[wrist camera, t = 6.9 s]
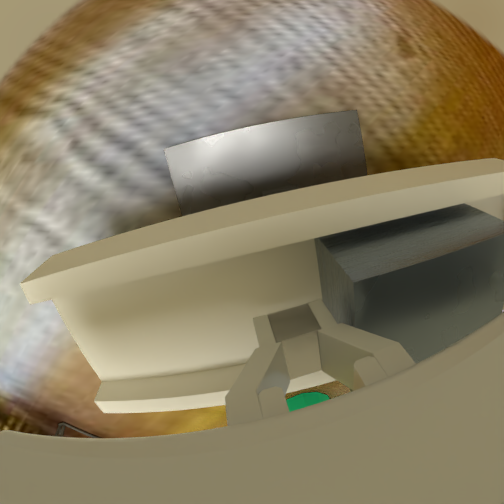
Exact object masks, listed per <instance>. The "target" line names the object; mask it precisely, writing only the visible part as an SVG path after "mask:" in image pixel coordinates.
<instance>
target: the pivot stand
mask: <svg viewBox="0 0 504 504" xmlns="http://www.w3.org/2000/svg"><path fill="white" fill-rule="evenodd" d="M164 152H165V156H166V160H167V163H168V167H169V171H170V174H171V178H172V182H173V185H174V189H175V192H176V196H177V199H178V203H179V206H180V209H181V213H182V216H186V215H190V214H194V213H197V212H201V211H205V210H209V209H213V208H217V207H221V206H225V205H229V204H233V203H238V202H242V201H246V200H250V199H255V198H259V197H263V196H268V195H272V194H277V193H281V192H286V191H291V190H295V189H300V188H305V187H310V186H315V185H320V184H325V183H330V182H335V181H340V180H346V179H351V178H356V177H362V176H367V168H366V161H365V154H364V147H363V141H362V135H361V129H360V124H359V119H358V113H357V110H352V111H342V112H334V113H326V114H318V115H311V116H304V117H298V118H292V119H286V120H280V121H275V122H270V123H264V124H259V125H255V126H250V127H245V128H241V129H236V130H232V131H228V132H223V133H219V134H215V135H211V136H208V137H204V138H200V139H196V140H193V141H189V142H186V143H182V144H179V145H175V146H172V147H169V148H165V149H164Z"/></svg>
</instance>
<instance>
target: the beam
mask: <svg viewBox="0 0 504 504" xmlns="http://www.w3.org/2000/svg"><path fill="white" fill-rule="evenodd" d="M462 203H465V204H467V205H470V206H472V207H474V208H477V209H479V210H481V211H483V212H486V213H488V214H490V215H492V216H494V217H496V218H499V219H501V220H503V221H504V160H501V159H497V158H488V159H479V160H470V161H462V162H453V163H446V164H438V165H431V166H424V167H417V168H410V169H404V170H398V171H391V172H385V173H379V174H373V175H368V176H362V177H356V178H351V179H346V180H340V181H335V182H330V183H325V184H320V185H315V186H310V187H305V188H300V189H295V190H291V191H286V192H281V193H277V194H272V195H268V196H263V197H259V198H255V199H250V200H246V201H242V202H238V203H233V204H229V205H225V206H221V207H217V208H213V209H209V210H205V211H201V212H197V213H194V214H190V215H186V216H182V217H178V218H175V219H171V220H167V221H164V222H160V223H156V224H153V225H149V226H146V227H142V228H139V229H135V230H132V231H129V232H125V233H122V234H118V235H115V236H112V237H108V238H105V239H102V240H99V241H96V242H92V243H89V244H86V245H83V246H80V247H77V248H74V249H71V250H68V251H65V252H62V253H59V254H56V255H53V256H51V257H50V258H49V259H48V260H47V261H45V262H44V263H43V264H42V265H41V266H40V267H38V268H37V269H36V270H35V271H34V272H33V273H31V274H30V275H29V276H28V277H27V278H26V279H25V280H24V281H23V282H21V283H20V285H21V287H22V289H23V291H24V293H25V295H26V297H27V299H28V301H29V303H30V304H34V303H39V302H43V301H47V300H52V301H53V303H54V304H55V306H56V308H57V310H58V312H59V314H60V316H61V318H62V319H63V321H64V323H65V325H66V326H67V328H68V330H69V332H70V333H71V335H72V337H73V338H74V340H75V342H76V343H77V345H78V346H79V348H80V350H81V351H82V353H83V354H84V356H85V357H86V359H87V361H88V362H89V364H90V365H91V367H92V368H93V369H94V371H95V372H96V374H97V375H98V377H99V378H100V379H101V381H102V383H101V385H100V388H99V390H98V393H97V395H96V398H95V400H94V402H95V403H96V404H97V405H98V407H99V408H100V409H101V410H102V411H103V413H142V412H161V411H174V410H186V409H195V408H204V407H212V406H219V405H226V403H225V396H226V395H227V393H228V392H229V390H230V389H231V387H232V385H233V384H234V382H235V381H236V379H237V378H238V376H239V374H240V373H241V371H242V370H243V368H244V366H245V365H246V363H247V361H248V360H249V358H250V356H251V355H252V353H253V352H254V350H255V349H256V348H259V344H258V340H257V336H256V332H255V327H254V323H253V318H254V317H258V316H262V315H267V314H269V313H273V312H277V311H281V310H285V309H289V308H293V307H297V306H300V305H303V304H306V303H308V302H311V301H314V300H317V299H322V292H321V284H320V276H319V269H318V261H317V254H316V247H315V241H314V238H318V237H322V236H326V235H330V234H335V233H339V232H343V231H348V230H352V229H356V228H360V227H365V226H369V225H373V224H377V223H382V222H386V221H390V220H394V219H399V218H403V217H407V216H411V215H416V214H420V213H424V212H428V211H433V210H437V209H441V208H445V207H450V206H454V205H458V204H462ZM503 309H504V305H503ZM503 309H502V310H503ZM333 381H336V379H334V378H332V377H331V376H329V375H328V374H326V373H324V372H323V371H322V370H321V371H317V372H314V373H311V374H307V375H304V376H301V377H298V378H295V379H291V380H290V384H289V386H288V389H287V392H286V393H290V392H294V391H298V390H302V389H306V388H310V387H314V386H318V385H322V384H325V383H329V382H333Z"/></svg>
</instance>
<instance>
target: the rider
mask: <svg viewBox="0 0 504 504" xmlns="http://www.w3.org/2000/svg"><path fill="white" fill-rule="evenodd" d="M314 241H315V247H316V254H317V261H318V269H319V276H320V284H321V292H322V301H323V302H324V304H325V305H326V307H327V308H328V310H329V311H330V313H331V314H332V316H333V317H334V319H335V320H336V322H337V324H339V323H344V324H347V325H349V326H352V327H355V328H358V329H361V330H364V331H367V332H369V333H372V334H375V335H378V336H381V337H384V338H387V339H390V340H393V341H396V342H399V343H400V344H401V346H402V347H403V348H404V349H405V351H406V352H407V353H408V354H409V356H410V357H411V358H412V359H413V361H414V362H415V363H418V362H420V361H422V360H424V359H426V358H428V357H430V356H432V355H434V354H436V353H438V352H440V351H441V350H443V349H445V348H447V347H449V346H450V345H452V344H454V343H456V342H457V341H459V340H461V339H462V338H464V337H466V336H467V335H469V334H471V333H472V332H474V331H475V330H477V329H479V328H480V327H482V326H483V325H485V324H486V323H488V322H489V321H491V320H492V319H494V318H495V317H497V316H498V315H500V314H501V313H502V309H503V305H504V221H503V220H501V219H499V218H496V217H494V216H492V215H490V214H488V213H486V212H483V211H481V210H479V209H477V208H474V207H472V206H470V205H467V204H465V203H462V204H458V205H454V206H450V207H445V208H441V209H437V210H433V211H428V212H424V213H420V214H416V215H411V216H407V217H403V218H399V219H394V220H390V221H386V222H382V223H377V224H373V225H369V226H365V227H360V228H356V229H352V230H348V231H343V232H339V233H335V234H330V235H326V236H322V237H318V238H314ZM350 391H351V392H352V391H353V390H352V389H350Z"/></svg>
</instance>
